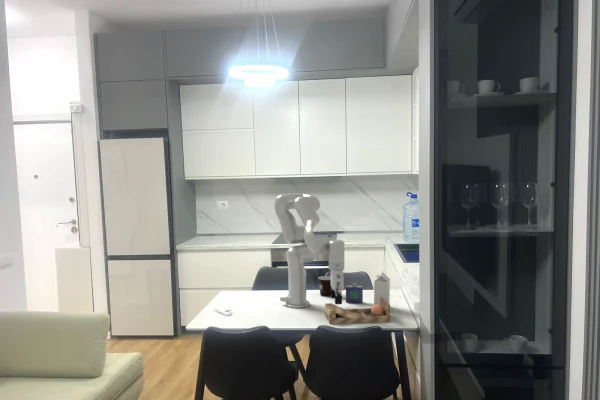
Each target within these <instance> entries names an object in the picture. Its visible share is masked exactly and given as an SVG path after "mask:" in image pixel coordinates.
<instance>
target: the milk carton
mask: <svg viewBox="0 0 600 400" xmlns="http://www.w3.org/2000/svg"><path fill="white" fill-rule="evenodd" d="M390 283H391V279H390V277H388V276H387V275H386V274H385V273H384V270H382V272H381V273H380V274H379V273H378V274H376V275H375V279H374V281H373V286H374V287H373V305H375V304H379V305H380V297H383V298H384V299H385V300H386V301H387V302H388V303H389V304H390V299H391V298H390V297H391V296H390V293H391V292H390V291H391V290H390V287H391V284H390ZM390 305H391V304H390Z"/></svg>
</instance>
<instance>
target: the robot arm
mask: <svg viewBox="0 0 600 400" xmlns="http://www.w3.org/2000/svg"><path fill="white" fill-rule="evenodd" d="M273 203H274V207H273V208H274V212H275V214H276V217H277V219H278V220H279V224H280V228H281V231H282V235H283V238H284V241H285V243H286V244H288V245H294V246H291V247H290V248H289V247H288V249H287V251H286V255H285V257H286V261H287V271H288V272H287V274H288V295H287V296H285V297H282V296H281V297H279V302H284V303H285V306H287V307H289V308H292V309H302V308H306V307H309V305H310V301H309V300H307V270H306V268H305V265H304V263H310V262H313V261H315V260H316V259H317V257H318V255H323V254H328V270H330V277H331V289H332V290H331V296H330V298H331V299H334V305H342V304H343V293H342V291H344V290H345V284H344V282H345V281H344V271H343V270H345V242H344V240H343V239H342V240H341V239H335V238H333V237H330V236H329V237H321V238H320V237H319V238H317V237H316V235H315V233H314V228H315V227H316V226H317V225H318V224H319V223H320V221H321V219H320V216H319V215H318V213H317V211H319V209H320V208H321V202H320V200H319V198H318V197H317V196H315V195H312V194H311V195H310V194H306V193H300V192H299V193H283V194H279V195H278V196H277V197H276V198H275V201H274V202H273ZM290 210H295V211H296V213H297V214H298V216H299V218H300V220H301V221H302V223H303V225H298V223H297V221H296V217H295V216H294V214H293V213H292V212H291V211H290ZM297 244H300V245H297Z"/></svg>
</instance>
